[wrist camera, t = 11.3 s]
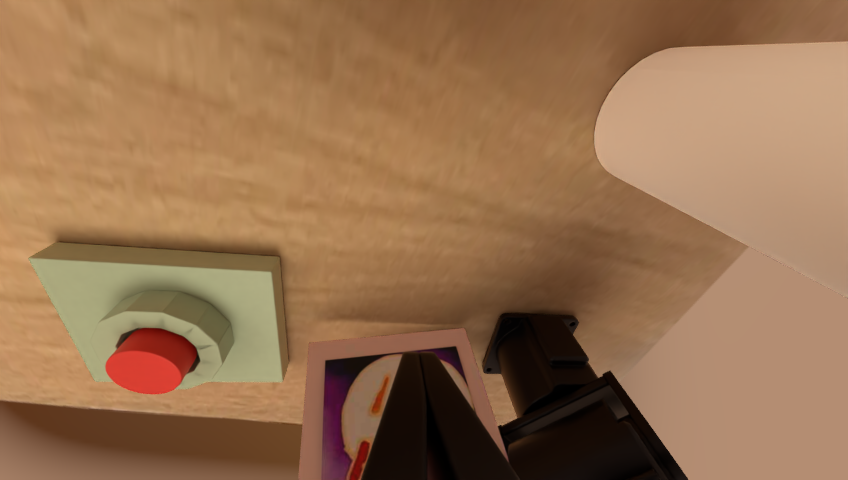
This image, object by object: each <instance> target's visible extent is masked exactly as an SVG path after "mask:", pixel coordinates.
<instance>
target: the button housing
mask: <svg viewBox="0 0 848 480" xmlns="http://www.w3.org/2000/svg"><path fill="white" fill-rule="evenodd" d="M29 261H30V263H31V265H32V266H33V268H34V270H35V272H36V274H37V276H38V277H39V279H40V281H41V283H42V285H43V287H44V288H45V290H46V292H47V294H48V296H49V298H50V299H51V301H52V303H53V305H54V307H55V309H56V311H57V312H58V314H59V316H60V318H61V320H62V322H63V323H64V325H65V327H66V329H67V331H68V333H69V334H70V336H71V338H72V340H73V342H74V344H75V345H76V347H77V349H78V351H79V353H80V355H81V356H82V358H83V360H84V362H85V364H86V366H87V368H88V369H89V371H90V373H91V375H92V377H93V379H94V380H95V381H96V382H114V381H113V380H112V379H111V378H110V377H109V376H108V374H107V372H106V369H105V365H106V362H107V360H108V358H109V357H110V356H111V355H112V354H113V353H114V352H115V351H116V350H117V349H118V348H119V346H120V345H121V344H122V343H123V342H124V341H125V340H126V339H127V338H128V337H129V336H130V335H131V334H132V333H133V332H134V331H136V330H139V329H141V328H162V329H165V330H167V331H170V332H173V333H176V334H179V335H181V336H184V337H185V338H186V339H187V340H189V341H190V342H191V343H192V344H193V345H194V346H195V347H196V349H197V357H196V359H195V361H194V363H193V364H192V366H191V368H190V369H189V371H188V372H187V374H186V375H185V377H184V379H183V380H182V382H181V383H180V385H179V386H178V387H177V388H175V389H190V388H192V387H195V386H198V385H200V384H203V383H206V382H283V380H284V377H285V374H286V371H287V367H288V364H289V361H288V349H287V337H286V325H285V314H284V302H283V290H282V278H281V266H280V257H278V256H262V255H247V254H231V253H216V252H201V251H185V250H170V249H154V248H139V247H123V246H108V245H93V244H77V243H62V242H56V243H54V244H52V245H50V246H49V247H47V248H45V249H43V250H42V251H40V252H38V253H36V254H34V255H33V256H31V257H29Z"/></svg>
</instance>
